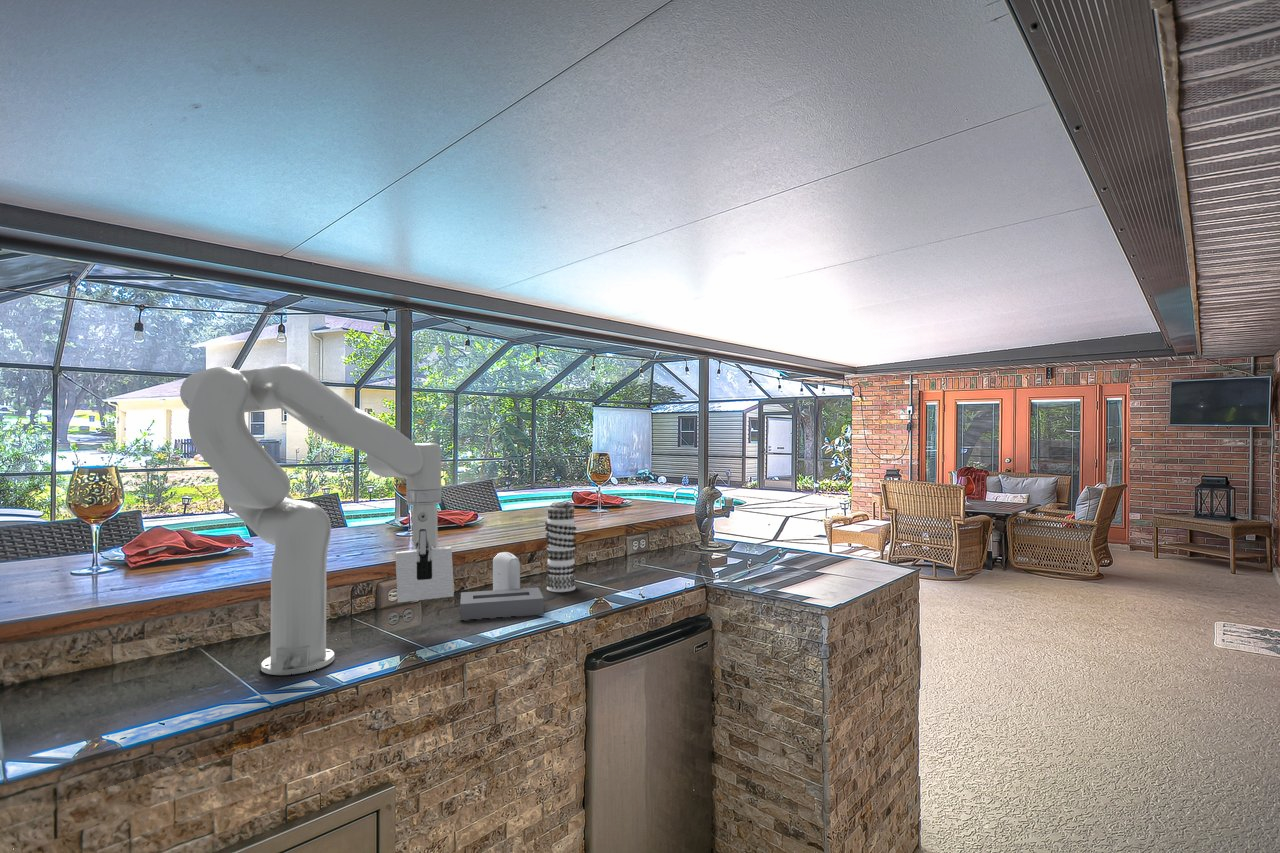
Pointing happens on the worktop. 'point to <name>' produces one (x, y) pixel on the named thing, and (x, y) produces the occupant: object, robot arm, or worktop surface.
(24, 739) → the worktop surface
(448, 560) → the cover plate
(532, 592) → the slot holder
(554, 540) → the decorative candle
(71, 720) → the worktop surface
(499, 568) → the white rounded box
